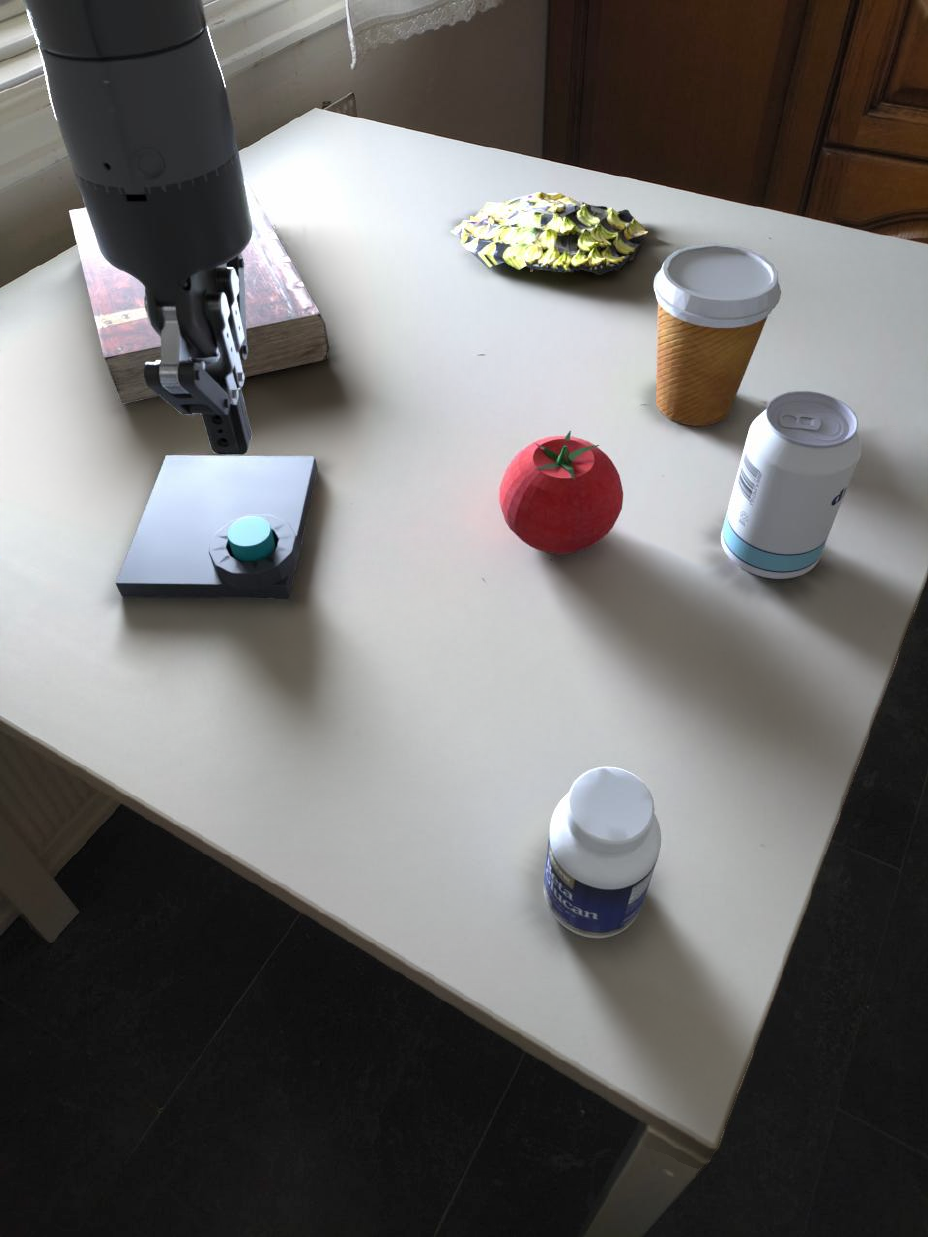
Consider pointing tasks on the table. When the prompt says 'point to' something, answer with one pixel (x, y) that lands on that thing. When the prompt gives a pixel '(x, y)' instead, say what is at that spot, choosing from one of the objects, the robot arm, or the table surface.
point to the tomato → (561, 494)
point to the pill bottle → (601, 853)
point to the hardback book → (273, 301)
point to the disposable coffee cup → (709, 327)
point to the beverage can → (790, 484)
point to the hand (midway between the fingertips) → (233, 447)
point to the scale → (219, 527)
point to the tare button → (251, 539)
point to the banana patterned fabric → (552, 234)
